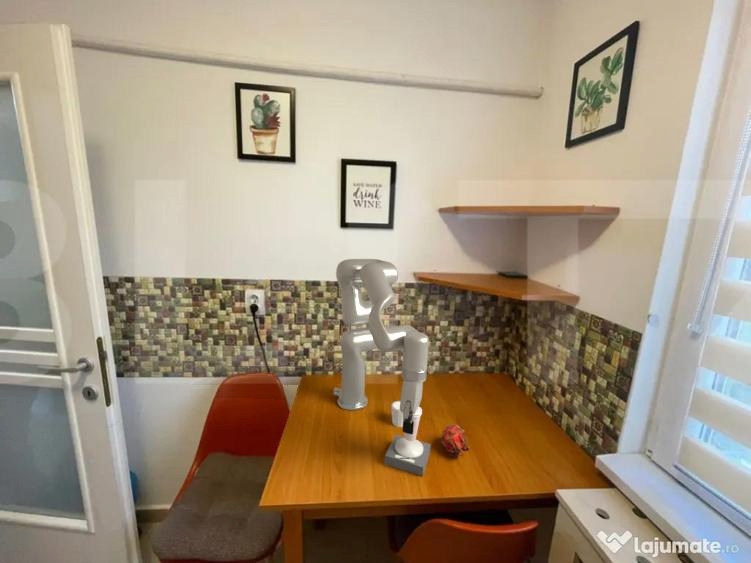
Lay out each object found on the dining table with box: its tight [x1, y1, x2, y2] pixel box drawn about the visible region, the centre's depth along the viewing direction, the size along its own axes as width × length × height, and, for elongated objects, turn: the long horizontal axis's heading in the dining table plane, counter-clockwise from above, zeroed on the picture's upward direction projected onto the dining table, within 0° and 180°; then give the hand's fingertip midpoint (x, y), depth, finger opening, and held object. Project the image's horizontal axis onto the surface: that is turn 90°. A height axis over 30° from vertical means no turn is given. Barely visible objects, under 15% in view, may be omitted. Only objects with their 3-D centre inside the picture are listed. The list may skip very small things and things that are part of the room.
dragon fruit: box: [440, 423, 470, 458], centre depth 104 cm, size 8×8×12 cm
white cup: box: [390, 400, 403, 428], centre depth 117 cm, size 7×7×7 cm
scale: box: [384, 434, 432, 477], centre depth 99 cm, size 12×11×4 cm
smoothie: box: [402, 406, 423, 441], centre depth 98 cm, size 6×6×14 cm
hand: (410, 425), depth 98 cm, fingers closed on smoothie, 6 cm apart
